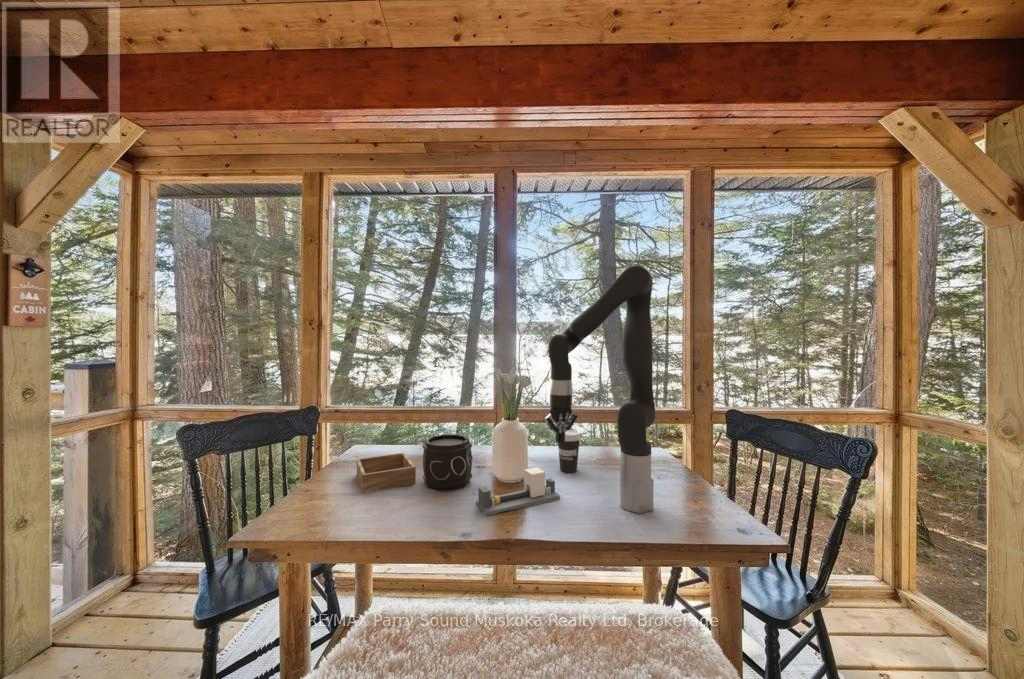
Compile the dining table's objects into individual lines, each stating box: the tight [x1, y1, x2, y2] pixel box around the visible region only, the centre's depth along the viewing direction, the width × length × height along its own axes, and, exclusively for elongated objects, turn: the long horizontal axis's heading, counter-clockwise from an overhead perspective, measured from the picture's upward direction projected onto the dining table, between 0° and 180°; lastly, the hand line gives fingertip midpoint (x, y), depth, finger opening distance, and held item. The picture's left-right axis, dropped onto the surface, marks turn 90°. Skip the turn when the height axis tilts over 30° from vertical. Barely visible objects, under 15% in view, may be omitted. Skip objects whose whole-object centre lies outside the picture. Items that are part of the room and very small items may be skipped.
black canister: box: [422, 433, 473, 492], centre depth 144 cm, size 18×18×16 cm
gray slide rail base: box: [475, 478, 561, 516], centre depth 128 cm, size 26×9×6 cm, turn 117°
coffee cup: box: [557, 429, 582, 474], centre depth 156 cm, size 10×10×15 cm
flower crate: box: [356, 452, 417, 493], centre depth 148 cm, size 19×18×6 cm
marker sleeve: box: [523, 466, 546, 498], centre depth 131 cm, size 5×5×8 cm
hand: (560, 442), depth 135 cm, fingers closed
